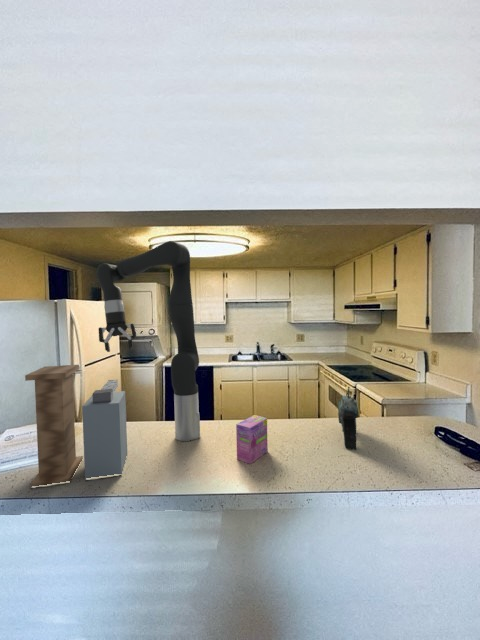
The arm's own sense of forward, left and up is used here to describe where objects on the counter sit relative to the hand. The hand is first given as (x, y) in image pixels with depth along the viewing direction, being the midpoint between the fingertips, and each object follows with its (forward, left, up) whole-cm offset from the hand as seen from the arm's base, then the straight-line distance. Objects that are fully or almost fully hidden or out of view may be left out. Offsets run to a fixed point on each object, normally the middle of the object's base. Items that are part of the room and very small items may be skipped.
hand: (119, 350), depth 126 cm
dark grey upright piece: (-83, +36, -33) cm, 96 cm away
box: (-46, +38, -33) cm, 68 cm away
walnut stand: (+14, +32, -33) cm, 48 cm away
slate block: (0, +32, -33) cm, 46 cm away
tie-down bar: (0, +27, -11) cm, 29 cm away
